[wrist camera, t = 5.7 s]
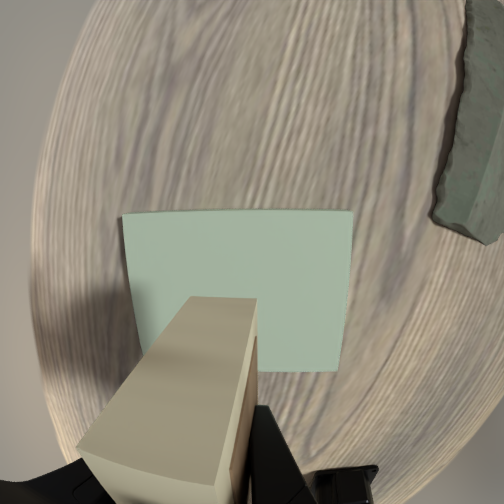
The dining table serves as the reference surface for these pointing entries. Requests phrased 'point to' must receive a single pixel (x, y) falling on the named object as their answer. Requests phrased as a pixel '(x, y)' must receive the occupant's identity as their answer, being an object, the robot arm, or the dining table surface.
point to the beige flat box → (183, 412)
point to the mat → (247, 275)
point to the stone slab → (478, 133)
